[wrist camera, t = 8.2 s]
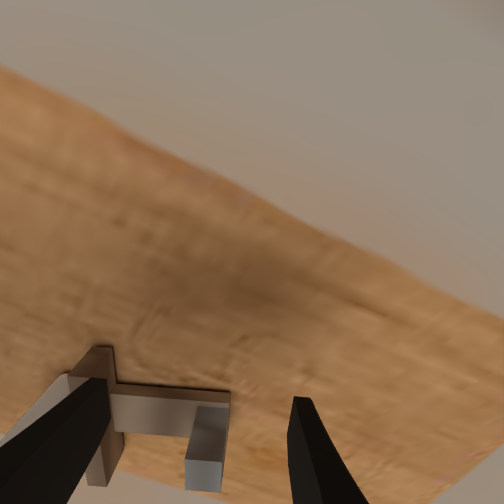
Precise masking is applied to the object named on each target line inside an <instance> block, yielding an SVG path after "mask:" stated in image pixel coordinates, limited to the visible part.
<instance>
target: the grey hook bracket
mask: <svg viewBox="0 0 504 504" xmlns="http://www.w3.org/2000/svg"><path fill="white" fill-rule="evenodd" d="M91 377H95V378H105V379H107V385H108V394H109V402H110V411H111V420H110V422H109V425H108V427H107V429H106V432H105V434H104V436H103V438H102V441H101V443H100V445H99V447H98V449H97V451H96V453H95V455H94V456H93V458H92V460H91V462H90V463H89V465H88V467H87V469H86V471H85V473H86V477H87V483H88V485H89V486H102V487H107V485H108V483H109V481H110V479H111V476H112V474H113V472H114V470H115V468H116V466H117V464H118V461H119V459H120V457H121V455H122V453H123V451H124V444H123V435H122V432H128V433H140V434H152V435H165V436H177V437H189V438H190V440H189V444H188V448H187V452H186V456H185V490H194V491H206V492H218V493H221V485H222V477H223V468H224V460H225V452H226V443H227V437H228V429H229V412H230V395H231V393H224V392H212V391H199V390H187V389H175V388H162V387H150V386H138V385H125V384H116V377H115V369H114V360H113V352H112V348H107V347H94V346H92V347H91V349H90V350H89V351H88V352H87V353H86V354H85V356H84V357H83V358H82V359H81V360H80V361H79V362H78V364H77V365H76V366H75V367H74V368H73V369H72V371H71V372H70V373H69V374H68V375H67V380H68V385H69V390H70V393H72V392H73V391H74V390H75V389H77V388H78V387H79V386H80V385H82V384H83V383H84V382H86V381H87V380H88V379H89V378H91Z"/></svg>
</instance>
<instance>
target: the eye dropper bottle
mask: <svg viewBox="0 0 504 504" xmlns="http://www.w3.org/2000/svg"><path fill="white" fill-rule="evenodd" d="M67 375H68V374H61V375H60V376H59V377H58V378H57V379H56V380H55V381H54V382H53V383H52V384H51V385H50V386H49V388H48V389H47V390H46V391H45V392H44V393H43V394H42V395H41V396H40V398H39V399H38V400H37V401H36V402H35V403H34V404H33V405H32V406H31V408H30V409H29V410H28V411H27V412H26V413H25V414H24V415H23V416H22V418H21V419H20V420H19V421H18V422H17V423H16V424H15V425H14V427H13V428H12V429H11V430H10V431H9V432H8V433H7V434H6V436H5V437H4V438H3V439H2V440H1V441H0V447H1V446H2V445H3V444H5V443H6V442H8V441H9V440H10V439H12V438H13V437H15V436H16V435H17V434H19V433H20V432H21V431H23V430H24V429H25V428H27V427H28V426H29V425H31V424H32V423H33V422H35V421H36V420H37V419H39V418H40V417H41V416H42V415H44V414H45V413H46V412H48V411H49V410H50V409H51V408H53V407H54V406H55V405H56V404H58V403H59V402H60V401H62V400H63V399H64V398H65V397H67V396H68V395H69V394H70V390H69V385H68V380H67Z"/></svg>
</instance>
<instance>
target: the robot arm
mask: <svg viewBox="0 0 504 504" xmlns="http://www.w3.org/2000/svg"><path fill="white" fill-rule="evenodd" d="M110 420H111V411H110V402H109V394H108V385H107V379H105V378H95V377H91V378H89V379H88V380H87V381H86V382H84V383H83V384H82V385H80V386H79V387H78V388H77V389H75V390H74V391H73V392H72V393H70V394H69V395H68V396H67V397H65V398H64V399H63V400H62V401H60V402H59V403H58V404H56V405H55V406H54V407H53V408H51V409H50V410H49V411H48V412H46V413H45V414H44V415H42V416H41V417H40V418H39V419H37V420H36V421H35V422H33V423H32V424H31V425H29V426H28V427H27V428H25V429H24V430H23V431H21V432H20V433H19V434H17V435H16V436H15V437H13V438H12V439H10V440H9V441H8V442H6V443H5V444H3V445H2V446H1V447H0V504H67V502H68V500H69V498H70V497H71V495H72V493H73V492H74V490H75V488H76V486H77V485H78V483H79V481H80V479H81V477H82V476H83V474H84V472H85V471H86V469H87V467H88V465H89V463H90V462H91V460H92V458H93V456H94V455H95V453H96V451H97V449H98V447H99V445H100V443H101V441H102V438H103V436H104V434H105V432H106V429H107V427H108V425H109V422H110ZM287 448H288V467H289V475H290V483H291V490H292V498H293V504H369V503H368V501H367V500H366V498H365V497H364V495H363V494H362V492H361V490H360V489H359V487H358V486H357V484H356V482H355V481H354V479H353V478H352V476H351V474H350V473H349V471H348V469H347V468H346V466H345V464H344V462H343V461H342V459H341V457H340V455H339V453H338V452H337V450H336V448H335V446H334V444H333V443H332V441H331V439H330V437H329V435H328V433H327V431H326V429H325V427H324V425H323V423H322V421H321V419H320V417H319V415H318V413H317V410H316V408H315V406H314V404H313V401H312V400H311V399H310V398H307V397H297V396H294V398H293V404H292V410H291V415H290V421H289V426H288V432H287Z"/></svg>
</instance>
